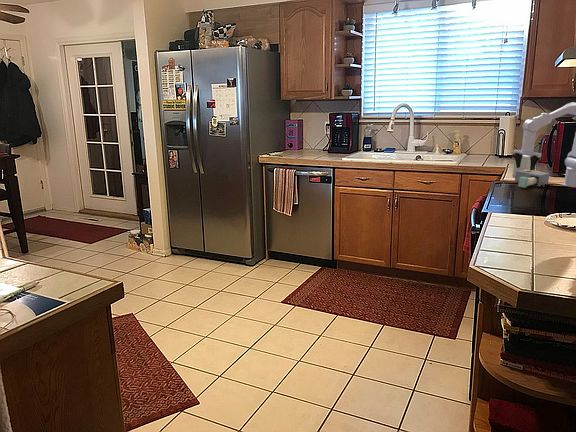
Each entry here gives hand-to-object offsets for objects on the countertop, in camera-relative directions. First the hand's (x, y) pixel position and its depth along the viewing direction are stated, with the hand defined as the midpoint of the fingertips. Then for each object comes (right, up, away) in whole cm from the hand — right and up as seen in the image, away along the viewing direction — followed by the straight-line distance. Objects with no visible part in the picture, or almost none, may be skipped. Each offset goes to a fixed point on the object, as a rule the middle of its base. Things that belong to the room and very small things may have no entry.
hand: (524, 168), depth 253 cm
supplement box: (+11, -2, +28) cm, 30 cm away
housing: (+9, -6, +12) cm, 17 cm away
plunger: (+8, -3, +14) cm, 16 cm away
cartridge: (+4, -9, +4) cm, 10 cm away
